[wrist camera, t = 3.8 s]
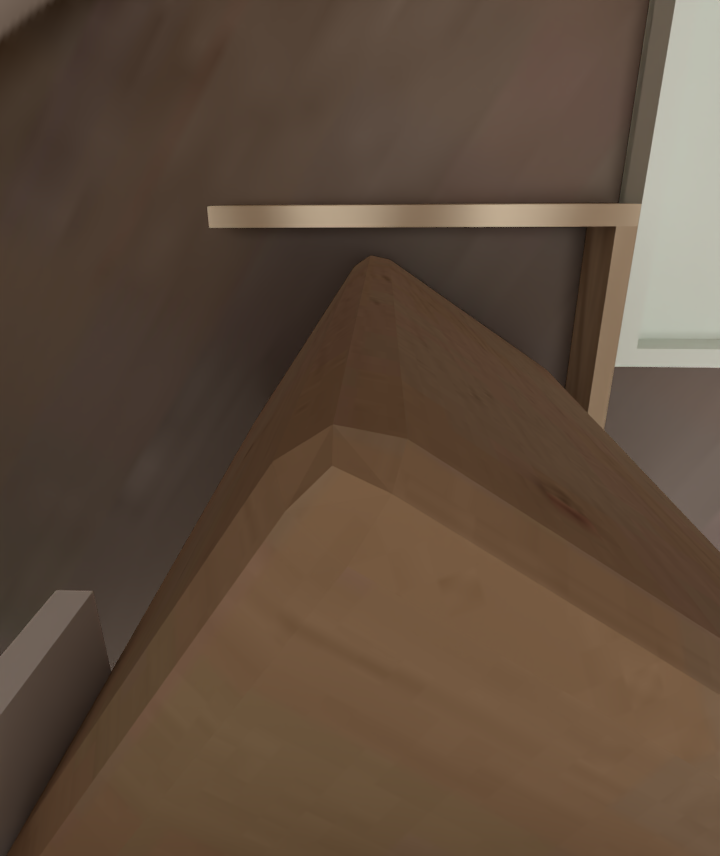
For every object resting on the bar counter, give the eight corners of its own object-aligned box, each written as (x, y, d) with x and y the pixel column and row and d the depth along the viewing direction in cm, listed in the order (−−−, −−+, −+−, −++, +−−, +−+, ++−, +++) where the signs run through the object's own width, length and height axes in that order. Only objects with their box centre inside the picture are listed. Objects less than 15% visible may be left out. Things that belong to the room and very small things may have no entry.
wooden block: (369, 242, 23) (312, 423, 5) (558, 375, 25) (1064, 890, 6) (248, 430, 26) (-65, 972, 8) (423, 535, 28) (499, 1180, 10)
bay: (258, 524, 32) (242, 561, 29) (230, 205, 26) (206, 206, 22) (560, 532, 31) (580, 571, 28) (608, 203, 25) (641, 203, 21)
